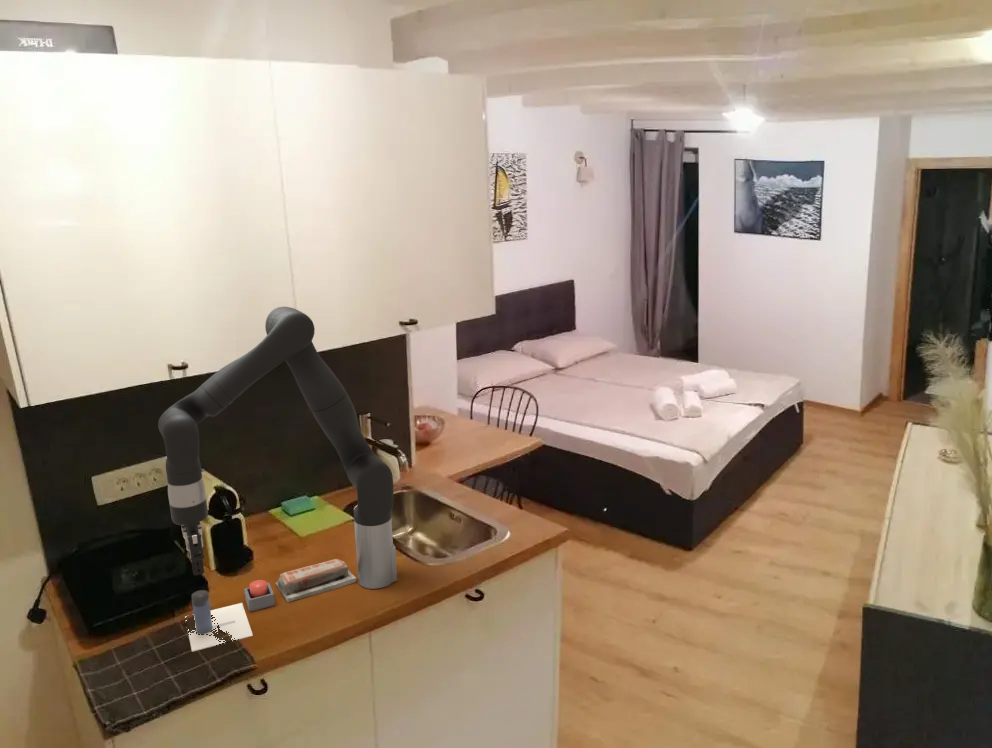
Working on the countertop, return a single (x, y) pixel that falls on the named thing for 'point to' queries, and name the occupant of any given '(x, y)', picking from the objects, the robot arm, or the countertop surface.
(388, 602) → the countertop surface
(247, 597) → the button base
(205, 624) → the marker
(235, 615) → the drawing pad
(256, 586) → the button
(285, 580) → the packaged product
